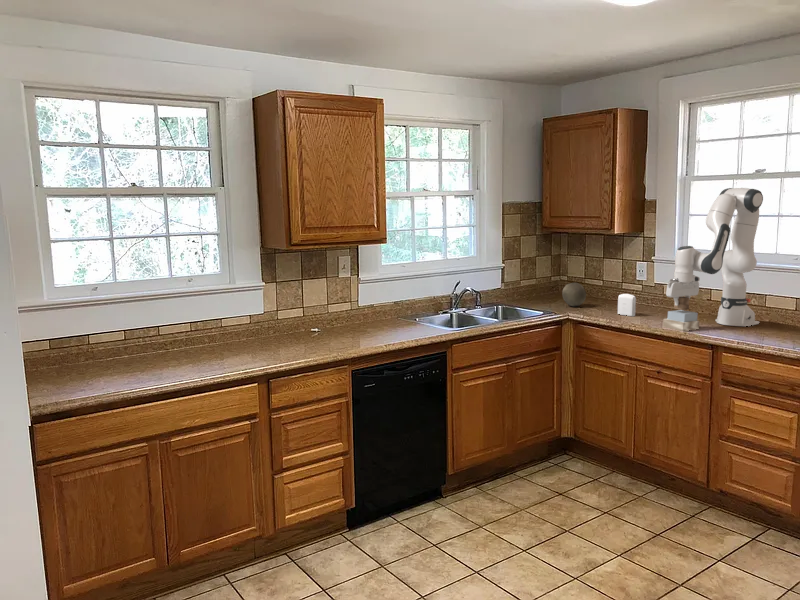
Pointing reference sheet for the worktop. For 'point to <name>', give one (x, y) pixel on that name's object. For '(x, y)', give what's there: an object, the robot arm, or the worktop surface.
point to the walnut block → (682, 303)
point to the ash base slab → (681, 325)
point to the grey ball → (574, 294)
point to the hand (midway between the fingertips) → (681, 304)
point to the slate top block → (682, 316)
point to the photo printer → (626, 304)
